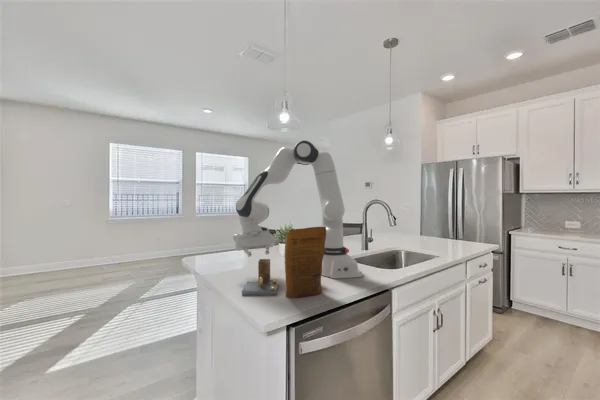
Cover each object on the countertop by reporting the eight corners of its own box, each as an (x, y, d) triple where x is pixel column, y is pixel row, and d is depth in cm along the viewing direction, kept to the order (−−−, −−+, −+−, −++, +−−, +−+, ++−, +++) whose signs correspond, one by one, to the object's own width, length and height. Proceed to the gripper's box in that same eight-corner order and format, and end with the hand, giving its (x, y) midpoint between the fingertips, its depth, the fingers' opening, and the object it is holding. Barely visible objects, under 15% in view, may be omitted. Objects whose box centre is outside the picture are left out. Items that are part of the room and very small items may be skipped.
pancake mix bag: (330, 294, 113) (330, 226, 112) (286, 301, 106) (286, 229, 105) (322, 289, 119) (322, 225, 119) (280, 295, 112) (280, 227, 111)
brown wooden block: (270, 279, 133) (270, 259, 133) (269, 282, 128) (269, 261, 128) (259, 279, 133) (259, 259, 133) (258, 283, 128) (258, 261, 128)
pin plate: (278, 285, 124) (278, 273, 124) (276, 295, 112) (276, 281, 112) (247, 285, 124) (247, 273, 124) (241, 295, 112) (241, 281, 112)
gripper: (233, 230, 137) (239, 253, 129) (271, 228, 148) (279, 249, 139) (231, 238, 141) (237, 260, 133) (267, 235, 151) (275, 256, 143)
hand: (258, 254), depth 136 cm, fingers open, 8 cm apart
